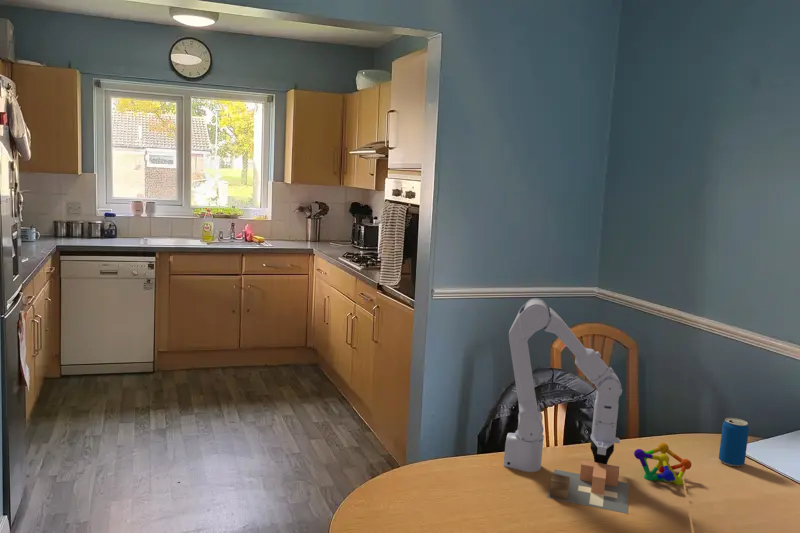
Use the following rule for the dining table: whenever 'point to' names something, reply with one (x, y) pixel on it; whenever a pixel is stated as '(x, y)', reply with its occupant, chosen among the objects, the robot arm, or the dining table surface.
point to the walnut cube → (559, 486)
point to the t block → (599, 475)
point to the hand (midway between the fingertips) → (599, 471)
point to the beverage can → (733, 442)
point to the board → (595, 494)
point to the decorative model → (663, 460)
